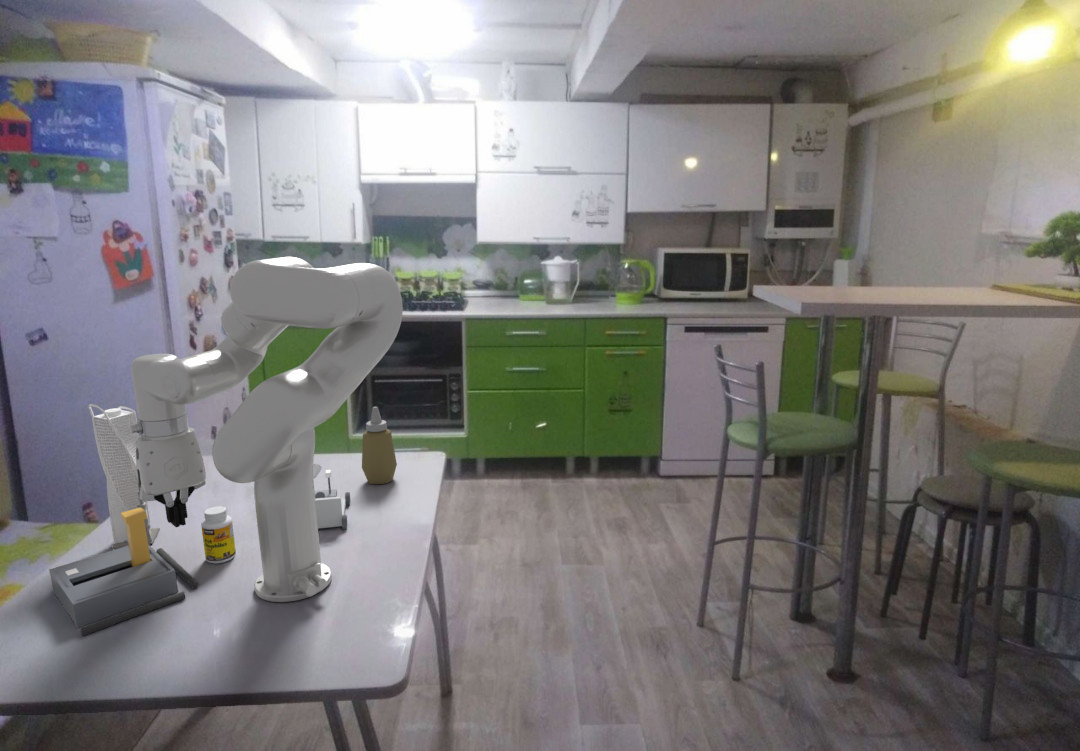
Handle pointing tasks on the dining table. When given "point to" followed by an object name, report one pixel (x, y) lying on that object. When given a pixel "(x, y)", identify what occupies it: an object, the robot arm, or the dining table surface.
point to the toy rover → (330, 504)
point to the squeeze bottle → (378, 451)
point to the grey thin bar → (132, 613)
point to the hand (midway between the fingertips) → (178, 523)
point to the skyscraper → (120, 469)
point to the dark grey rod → (178, 568)
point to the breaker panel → (111, 584)
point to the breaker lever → (137, 535)
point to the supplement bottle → (218, 535)
